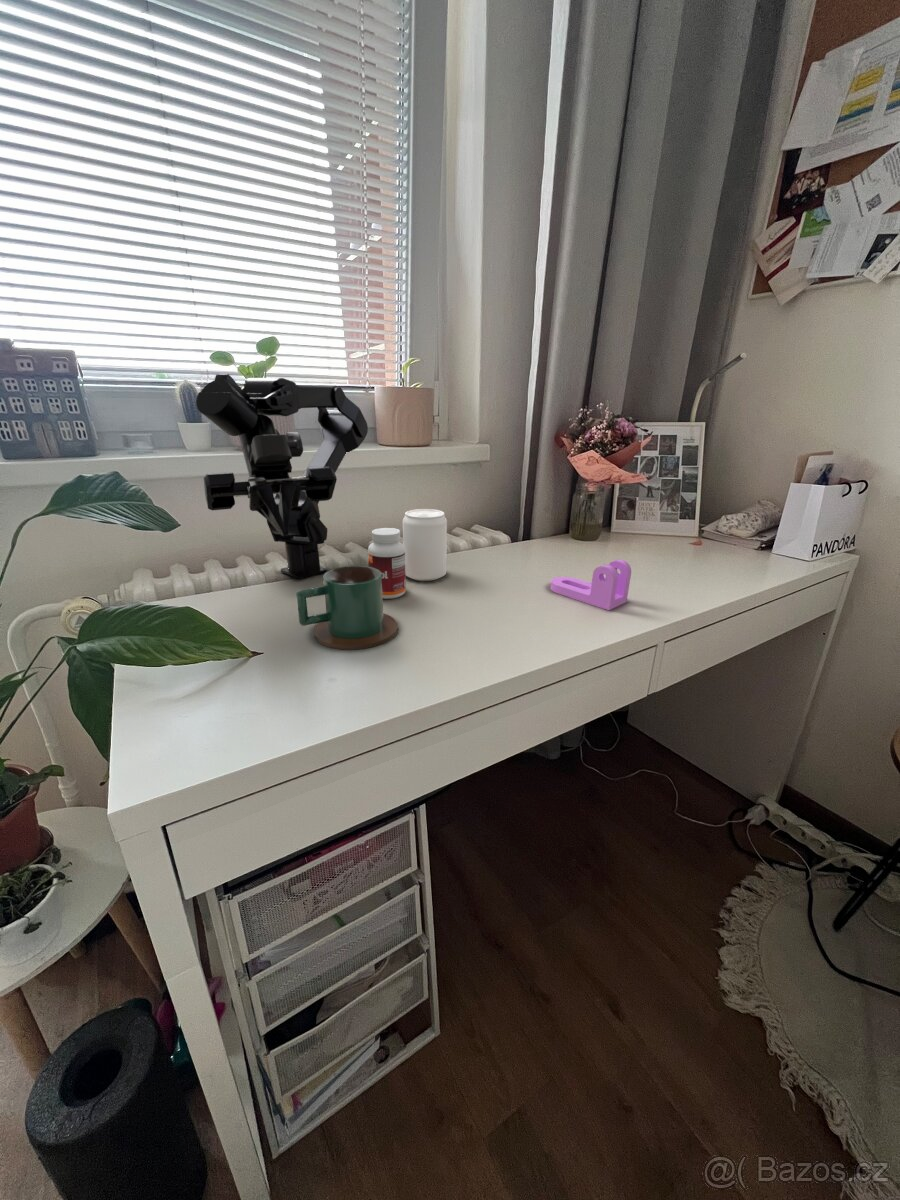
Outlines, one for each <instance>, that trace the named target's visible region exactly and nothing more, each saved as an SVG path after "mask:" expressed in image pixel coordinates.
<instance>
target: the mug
mask: <svg viewBox="0 0 900 1200" xmlns="http://www.w3.org/2000/svg"><path fill="white" fill-rule="evenodd" d="M322 580H323V585H322V586H316V587H309V588H303V589H299V590H297V591H296V595H295V596H296V605H297V612H298V613H297V614H298V620H299V621H298V622H299V625H301V626H303V627H306V626H310V625H316V624H317V623H321V622H326V621H327V625H328V631H329V633H330V634H332V635H334V636H336V637H339V638H345V639H359V638H365V637H369V636H372V635H375V634H377V633H378V632H380V631H381V630H382V629H383V627H384V618H383V613H384V598H383V595H382V574H381V572H380V571H379V570H378V569H375V568H372V567H369V566H366V565H348V566H347V565H346V566H340V567H335V568H332V569H330V570H327V571H326V572H324V574H323V576H322ZM321 596H324V603H325V612H322V613H318V614H312V615H309V613H308V605H307V604H308V603H307V599H308V598H314V597H321Z"/></svg>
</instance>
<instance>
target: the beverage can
mask: <svg viewBox="0 0 900 1200" xmlns="http://www.w3.org/2000/svg"><path fill="white" fill-rule="evenodd" d="M402 544H403V545H404V547H405V577H407V578H410V579H412V580H415V581H420V582H421V581H422V582H429V581H435V580H438V579H440V578H443V577H444V576H445V575H446V574H447V562H448V561H447V554H448V553H447V552H448V549H447V545H448V519H447V518H446V516H445V512H444V511H443V510H439V509H434V508H433V509H432V508H417V509H410V510H407V511H405V513H404V516H403V518H402Z"/></svg>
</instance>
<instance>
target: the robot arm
mask: <svg viewBox="0 0 900 1200" xmlns="http://www.w3.org/2000/svg"><path fill="white" fill-rule="evenodd" d="M196 396H197V397H196V400H195V405H196V409H197V411H199V413H200V414H202V415H203V416H204V417H205V418H207V419H208V420H209V421H210V422H212V423H213V424H214V425H215V426H217V427H218V428H219V429H221V430H222V431H223V432H224V433H226V434H227V435H228V436H230V437H231V436H232V437H238V439H239V443H240V447H241V451H242V454H243V457H244V462H245V465H246V469H247V473H248V477H247V480H246V481H236V477H235V474H234V472H233V471H226V472H225V471H224V472H209V473H208V472H207V473H206V474H204V475H205V476H203V485H204V496H205V501H206V504H207V509H208V510H210V511H221V510H223V511H224V510H231V509H232V508H233V507H234V506H235V505H236V500H235V498H239V497H247V499H249V505H248V506H249V510H250V511H252V512H258V513H259V514H260V515H261V516H262V517H263V518H265V519H266V523H267V527H268V528H269V532H270V535H271V536H272V539H273V541H274V542H276V543H278V542H280V543H284V546H285V547H284V548H285V556H286V564H287V563H288V565H287V566H286V567H283V568H280V572H281V573H283V574H285V575H288V576H290V577H292V578H294V579H298V580H301V579H304V578H308V577H311V576H315V575H319V574H322V573H326V572H328V568H326V567H325V566H321V563H320V561H321V560H320V552H319V545H321V544H325V541H327V538H328V528H327V526H326V525H325V524H324V522H322V520H321V519H320V518H321V513H320V507H319V503H320V502H326V501H329V500H331V499H332V498H333V495H334V491H335V488H336V483H337V481H338V478H337V475H336V472H337V471H338V469H339V467H340V465H341V463H342V461H343V459H344V458H345V456H346V455H347V454H346V452H349V453H351V452H353V451H355V450H356V449H358V448H359V447H360V446H361V444H363V442H364V441H365V439H366V438H367V435H368V432H369V428H368V423H367V420H366V418H365V416H364V413H363V412H362V410H361V409H360V407H359V406H358V405H357V404H355V403H354V402H353V401H352V400H350V399H349V398H348V397H347V396H346V394H345V392H344V390H343V388H342V387H341V386H337V385H317V386H312V385H308V386H307V385H297V383H296V382H295V381H292V380H290V379H287V378H285V377H249V378H248V377H247V378H246V379H245V380H244V385H243V386H242V387H241V386H239V384H237V382H236V380H234V378H233V377H232V376H231V375H230V374H229V373H216V374H215V376H214V380H212V381H210V382H208V383H207V384H206V385H205V386H203V388H202V389H201V391H199V392H198V393H197V395H196ZM313 408H317V410H318V413H317V414H318V415H317V422H318V424H319V425H320V427H321V433H322V437H323V440H322V442H321V444H320V446H319V447H318V448H317V450H316V453H315V454H314V455H313V457H312V459H311V460H310V462H309V464H308V466H307V467H306V469H305V470H304V472H303V473H302V475H301V476H293V477H291V476H290V473H292V471H293V466H292V463H291V460H292V459H293V458H298V457H300V458H301V457H302V454H303V452H304V446H303V441H302V437H301V435H300V433H299V431H291V432H289V431H288V432H286V433H285V434H281V433H280V432H279V430H278V429H276V427H275V423H274V420H273V419H272V418H270V417H289V416H292V415H294V414H297V413H298V412H299V410H300V409H313ZM328 409H337V411H338V412H329V411H328ZM350 451H351V452H350ZM345 454H346V455H345ZM274 495H275V496H274ZM288 568H289V569H288Z"/></svg>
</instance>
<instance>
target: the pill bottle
mask: <svg viewBox="0 0 900 1200" xmlns="http://www.w3.org/2000/svg"><path fill="white" fill-rule="evenodd" d="M371 540H372V541H373V542H371V543H370V544H369V545H368V548H367V556H368V557H367V558H368V560H367V561H368V567H372V568H375V569H378V570H379V571H380V572H381V574H382V595H383V599H386V600H387V599H388V600H390V599H397V598H399V597H401V596H403V595H404V594H405V593H406V589H407V586H406V585H407V583H406V579H407V578H406V575H405V547H404V545H403V542H401V541H400V540H401V530H400V529H398V528H394V527H380V528H375V529H373V530H371Z"/></svg>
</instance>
